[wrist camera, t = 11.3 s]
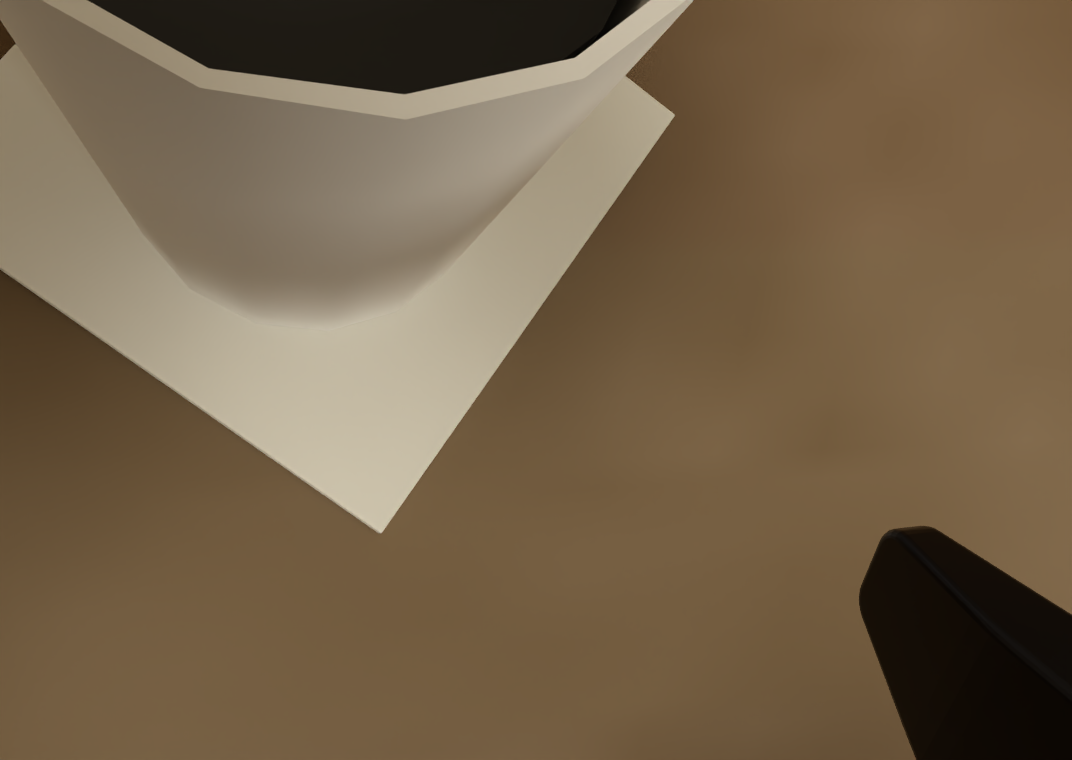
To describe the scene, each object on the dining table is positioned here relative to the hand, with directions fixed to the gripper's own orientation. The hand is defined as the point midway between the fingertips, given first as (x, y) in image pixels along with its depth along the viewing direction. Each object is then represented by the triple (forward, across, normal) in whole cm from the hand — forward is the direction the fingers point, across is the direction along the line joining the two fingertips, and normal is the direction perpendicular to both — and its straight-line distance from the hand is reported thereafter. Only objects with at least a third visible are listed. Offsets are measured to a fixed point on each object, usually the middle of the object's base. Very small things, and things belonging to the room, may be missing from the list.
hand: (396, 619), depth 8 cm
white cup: (+10, 0, +1) cm, 10 cm away
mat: (+11, 0, +1) cm, 11 cm away
